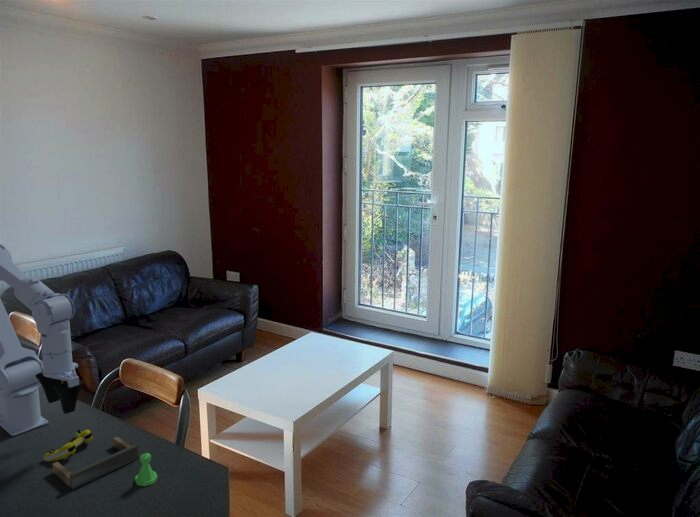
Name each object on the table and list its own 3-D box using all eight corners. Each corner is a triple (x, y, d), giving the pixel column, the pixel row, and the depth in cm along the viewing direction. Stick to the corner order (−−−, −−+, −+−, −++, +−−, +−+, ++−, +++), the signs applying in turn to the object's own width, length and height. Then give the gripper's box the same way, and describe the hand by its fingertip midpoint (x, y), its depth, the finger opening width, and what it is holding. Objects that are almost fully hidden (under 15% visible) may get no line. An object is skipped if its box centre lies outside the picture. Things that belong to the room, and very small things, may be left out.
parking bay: (53, 472, 109) (51, 459, 108) (117, 444, 120) (116, 432, 119) (72, 489, 104) (71, 475, 103) (138, 458, 115) (137, 446, 114)
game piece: (137, 474, 109) (136, 448, 108) (159, 472, 110) (158, 446, 109) (132, 487, 105) (131, 460, 104) (155, 485, 106) (154, 458, 105)
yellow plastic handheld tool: (70, 462, 111) (63, 447, 111) (47, 467, 113) (40, 453, 112) (101, 438, 121) (95, 424, 120) (79, 443, 122) (74, 430, 122)
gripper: (91, 353, 115) (95, 410, 118) (60, 337, 123) (64, 390, 126) (57, 362, 109) (62, 422, 112) (27, 345, 118) (33, 401, 121)
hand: (61, 406), depth 119 cm, fingers open, 7 cm apart
